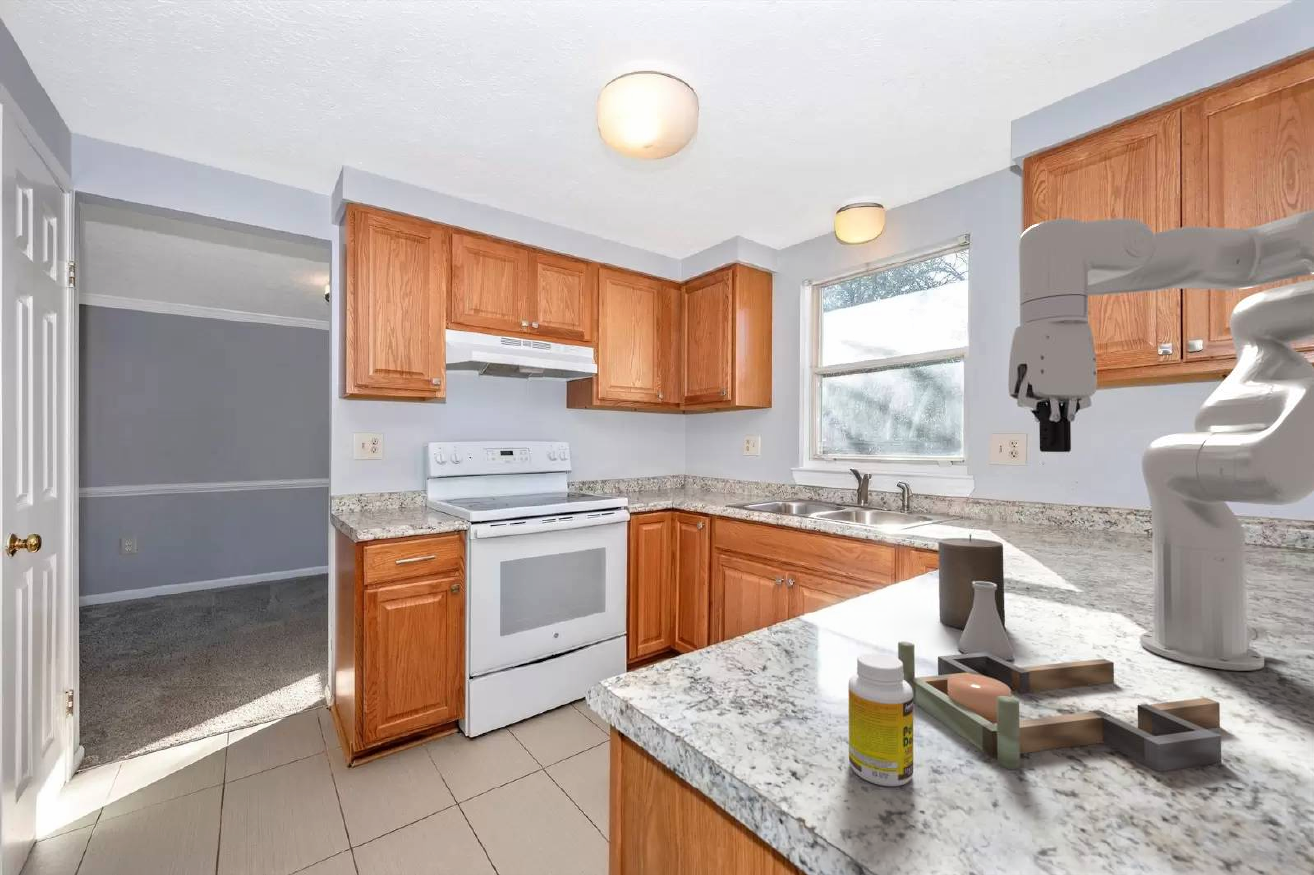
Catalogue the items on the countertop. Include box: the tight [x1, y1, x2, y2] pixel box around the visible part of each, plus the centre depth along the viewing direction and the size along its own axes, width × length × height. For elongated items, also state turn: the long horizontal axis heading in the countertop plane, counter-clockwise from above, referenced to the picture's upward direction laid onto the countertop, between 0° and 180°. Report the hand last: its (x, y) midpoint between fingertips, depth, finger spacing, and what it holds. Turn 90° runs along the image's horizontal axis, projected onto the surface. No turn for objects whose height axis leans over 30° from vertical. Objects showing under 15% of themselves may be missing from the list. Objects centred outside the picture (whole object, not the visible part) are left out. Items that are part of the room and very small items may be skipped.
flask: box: [957, 581, 1015, 661], centre depth 80 cm, size 7×7×10 cm
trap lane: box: [897, 641, 1222, 773], centre depth 62 cm, size 28×23×6 cm
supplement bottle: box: [847, 652, 914, 787], centre depth 51 cm, size 6×6×10 cm
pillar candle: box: [937, 533, 1006, 630], centre depth 94 cm, size 10×10×15 cm
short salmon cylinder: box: [948, 674, 1012, 724], centre depth 61 cm, size 6×6×4 cm
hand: (1055, 451), depth 75 cm, fingers closed
